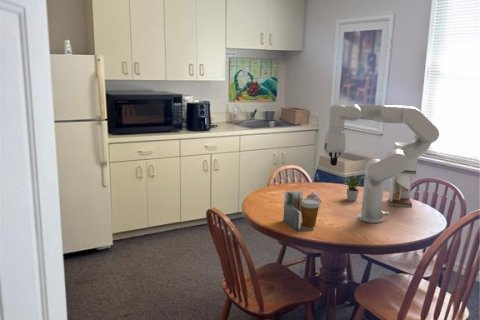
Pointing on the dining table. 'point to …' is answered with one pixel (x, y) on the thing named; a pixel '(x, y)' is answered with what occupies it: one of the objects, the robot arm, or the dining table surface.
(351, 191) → the house plant
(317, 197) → the cupcake
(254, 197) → the dining table surface
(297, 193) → the gauge frame
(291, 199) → the pale grey flat panel
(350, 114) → the robot arm
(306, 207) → the disposable coffee cup
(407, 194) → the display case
